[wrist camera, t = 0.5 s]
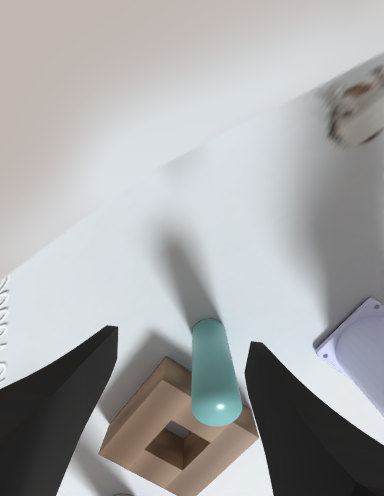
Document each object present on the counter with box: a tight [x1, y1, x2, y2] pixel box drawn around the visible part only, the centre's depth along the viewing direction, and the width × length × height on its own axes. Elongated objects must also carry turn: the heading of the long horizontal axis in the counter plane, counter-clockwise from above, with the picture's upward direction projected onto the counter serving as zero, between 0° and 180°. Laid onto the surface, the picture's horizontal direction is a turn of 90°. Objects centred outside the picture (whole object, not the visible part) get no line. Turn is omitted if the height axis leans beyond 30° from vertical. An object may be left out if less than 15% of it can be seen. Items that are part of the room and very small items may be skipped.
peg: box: [191, 319, 242, 427], centre depth 19 cm, size 4×4×8 cm
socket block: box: [99, 357, 259, 496], centre depth 24 cm, size 12×12×3 cm
